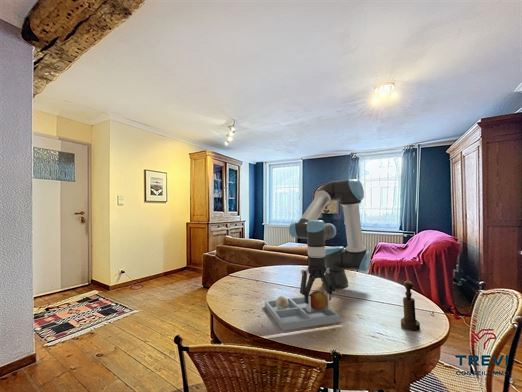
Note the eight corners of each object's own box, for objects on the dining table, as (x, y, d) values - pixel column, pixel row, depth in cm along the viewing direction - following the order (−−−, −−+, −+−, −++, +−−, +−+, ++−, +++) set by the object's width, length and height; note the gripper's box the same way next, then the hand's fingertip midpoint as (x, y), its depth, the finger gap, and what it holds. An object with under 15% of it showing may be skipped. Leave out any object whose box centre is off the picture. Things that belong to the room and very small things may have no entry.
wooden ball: (286, 306, 119) (285, 293, 119) (290, 311, 113) (290, 298, 114) (274, 308, 118) (273, 295, 118) (278, 313, 112) (277, 299, 112)
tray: (312, 302, 126) (312, 295, 127) (340, 324, 102) (340, 315, 103) (264, 308, 120) (264, 301, 120) (282, 333, 96) (282, 323, 96)
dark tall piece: (397, 324, 102) (395, 279, 103) (412, 323, 102) (410, 278, 103) (408, 332, 95) (405, 283, 96) (424, 331, 96) (421, 283, 97)
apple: (315, 305, 113) (314, 287, 113) (331, 310, 107) (330, 291, 108) (305, 310, 108) (304, 291, 108) (321, 315, 102) (320, 295, 102)
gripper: (333, 253, 115) (335, 303, 114) (290, 256, 109) (292, 309, 108) (342, 255, 108) (344, 309, 106) (297, 259, 102) (299, 316, 101)
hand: (318, 309), depth 107 cm, fingers closed on apple, 8 cm apart
